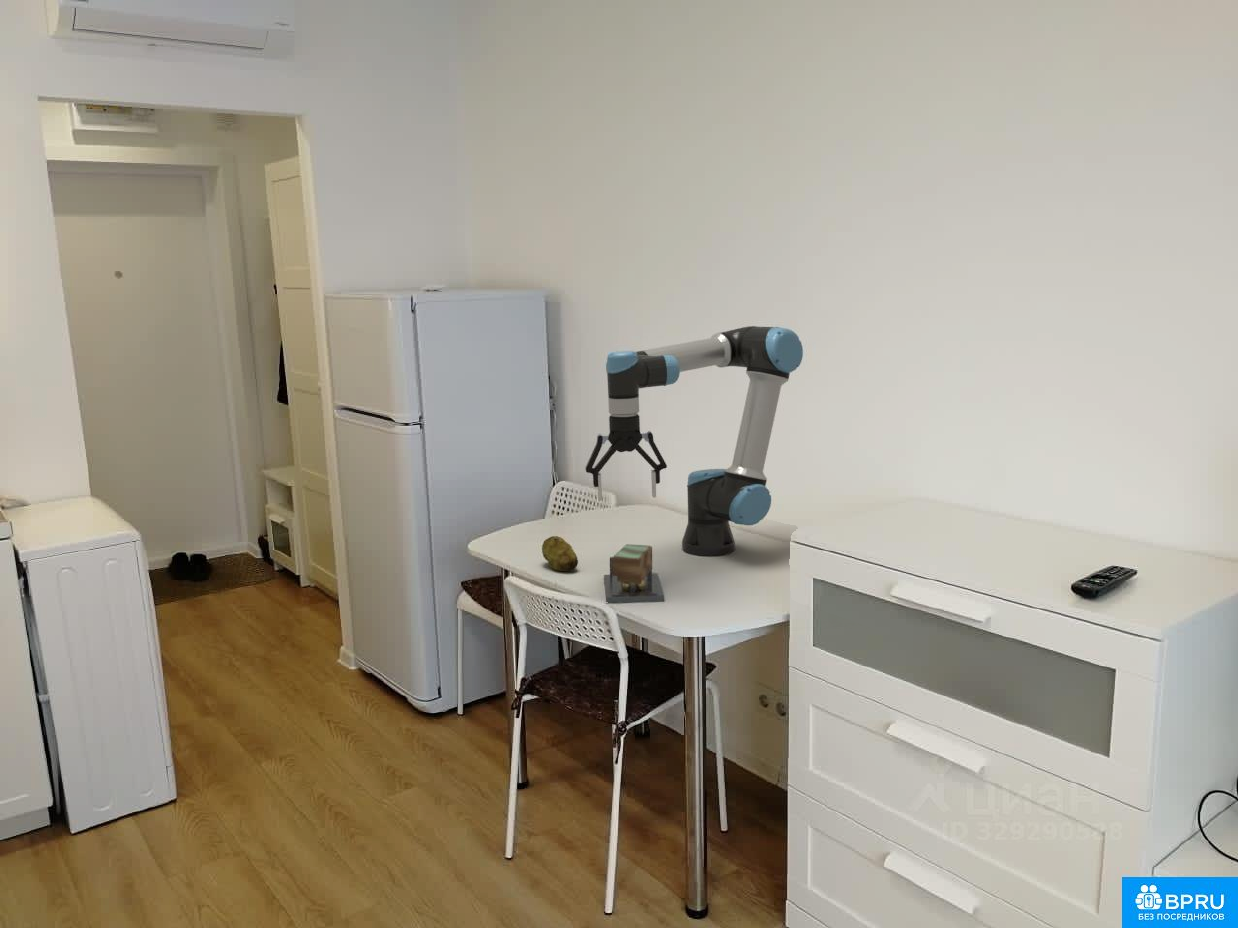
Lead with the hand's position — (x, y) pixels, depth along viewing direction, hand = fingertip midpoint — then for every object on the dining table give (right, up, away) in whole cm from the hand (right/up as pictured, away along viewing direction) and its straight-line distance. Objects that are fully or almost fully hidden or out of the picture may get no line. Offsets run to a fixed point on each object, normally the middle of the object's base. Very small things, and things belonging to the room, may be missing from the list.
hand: (627, 497), depth 245 cm
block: (+1, -19, -1) cm, 19 cm away
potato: (-18, -20, +20) cm, 34 cm away
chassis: (+1, -23, 0) cm, 23 cm away
